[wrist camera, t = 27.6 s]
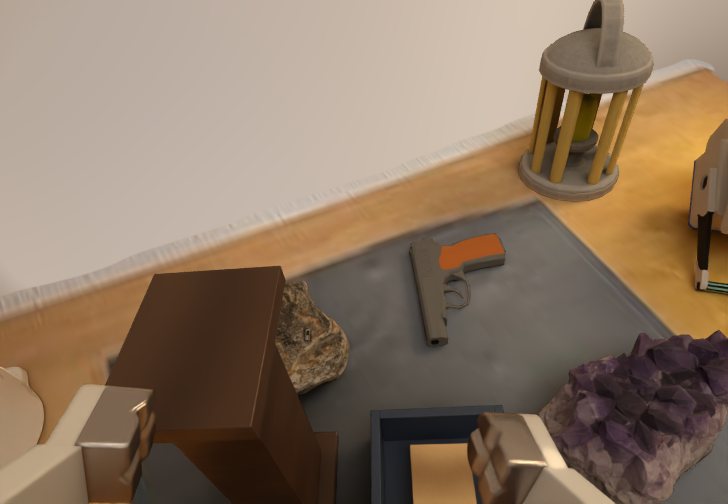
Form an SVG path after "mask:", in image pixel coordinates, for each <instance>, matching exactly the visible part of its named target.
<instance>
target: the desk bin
mask: <svg viewBox="0 0 728 504" xmlns="http://www.w3.org/2000/svg"><path fill="white" fill-rule="evenodd" d="M482 412H500V413H504V410H503V406H502V405H494V406H493V405H491V406H467V407H443V408H419V409H395V410H380V411H379V410H372V411H371V504H413V491H412V473H411V455H410V445H426V444H463V443H468V440H469V437H470V435H471V433H472V432H474V431H475V430H476V429H478V428H479V427H478V424H477V422H476V421H477V419H478V417H479V415H480V414H481V413H482ZM472 475H473V482H474V488H475V495H476V502H477V504H482V501H481V499H480V496H479V493H478V490H477V484H478V481H479V478H478V477H477V476H476V475H475V474H474V473H473V472H472Z"/></svg>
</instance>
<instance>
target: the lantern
mask: <svg viewBox="0 0 728 504" xmlns="http://www.w3.org/2000/svg"><path fill="white" fill-rule="evenodd" d="M623 24H624V5H623V1H622V0H595V1H594V2H593V5H592V7H591V9H590V11H589V13H588V16H587V20H586V22H585V26H584V29H583V30H580V31H576V32H573V33H570V34H568V35H566V36H564V37H561V38H559V39H558V40H556V41H555V42H554V43H553V44H551V45H550V46H549V47H547V48H546V49H545V51H544V52H543V54H542V58H541V63H540V68H539V71H540V73H541V75H542V81H541V87H540V92H539V98H538V103H537V109H536V114H535V120H534V126H533V131H532V137H531V142H530V148H529V149H528V150H527V151H526V152H525V153H524V154H523V155H522V156H521V161H520V167H519V174H520V176H521V179H522V181H523V182H524V183H525V184H526V185H527V186H528V187H529V188H531V189H532V190H534V191H536V192H537V193H539V194H541V195H544V196H547V197H550V198H553V199H557V200H565V201H587V200H592V199H595V198H598V197H602V196H603V195H605V194H606V193H608V192H609V191H611V190H612V189H613V187H614V185H615V184H616V182H617V179H618V176H619V167H618V165H617V163H616V162H617V159H618V157H619V154H620V151H621V148H622V145H623V142H624V139H625V136H626V133H627V131H628V128H629V125H630V122H631V119H632V116H633V113H634V110H635V107H636V105H637V102H638V99H639V96H640V93H641V90H642V87H643V84H644V83H646V81H647V80H648V78H649V77H650V75H651V72H652V69H653V65H654V63H653V56H652V53H651V52H650V51H649V50H648V48H647V47H646V46H645V45H644V44H643V43H642V42H641V41H640V40H639V39H637V38H636V37H634V36H632V35H630V34H628V33H625V32H623ZM565 89H568V90H569V95H568V99H567V103H566V108H565V112H564V117H563V121H562V125H561V127H559V128H557V125H558V120H559V116H560V111H561V107H562V102H563V98H564V93H565ZM631 89H633V92H632V95H631V98H630V101H629V104H628V107H627V110H626V113H625V116H624V119H623V122H622V125H621V128H620V131H619V134H618V137H617V140H616V143H615V146H614V149H613V152H612V155H611V154H609V153H608V151H609V148H610V145H611V142H612V139H613V136H614V133H615V129H616V126H617V123H618V120H619V117H620V114H621V111H622V108H623V105H624V102H625V99H626V96H627V92H628V90H631ZM587 93H589V94H587ZM605 93H614V94H613V97H612V100H611V104H610V107H609V110H608V114H607V117H606V120H605V123H604V127H603V130H602V133H601V137H600V140H599V143H598V146H597V145H595V144H596V143H597V141H598V134H597V133H596V131H594V130H593V129H592V128H593V125H594V121H595V117H596V114H597V110H598V107H599V103H600V100H601V96H602V94H605Z"/></svg>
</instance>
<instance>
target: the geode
mask: <svg viewBox="0 0 728 504" xmlns="http://www.w3.org/2000/svg"><path fill="white" fill-rule="evenodd" d="M569 377H570V379H569V381H568V382H569V384H565V385H564V386H563V387H562V388H561V389H560V390H559V391H558V392H557V394H556V395H555V396H554V397H553V398H552V399H551V401H550V402H549V403H548V405H547V406H545V407H544V408H543V409H542V410H541V412H539V414H538V416H539V417H540V418H541V420H542V422H543V424H544V425H545V427H546V429H547V431H548V433H549V434H550V436H551V438H552V440H553V442H554V444H555V445H556V447H557V449H558V451H559V453H560V454H561V456H562V458H563V460H564V462H565V464H566V465H567V467H568V468H571V469H574V470H576V471H577V472H578V473H579V474H580V475H582V476H583V477H584V478H585V479H586V480H588V481H589V482H590V483H591V484H593V485H594V486H595V487H596V488H597V489H599V490H600V491H601V492H602V493H603V494H605V495H606V496H607V497H608V498H609V499H611V500H612V501H613V502H614V503H616V504H659V503H660V502H662V501H664V500H666V499H667V498H668V497H670V495H671V494H672V492H673V484H674V483H675V482H676V480H677V479H678V478H679V476H680V475H681V474H682V473H684V472H686V471H687V470H688V469H689V468H691V467H692V466H693V465H694V464H696V463H698V462H699V461H701V460H702V459H703V458H705V457H706V456H707V455H708V454H709V453H710V452H711V450H712V447H713V442H714V441H715V439H716V437H717V435H718V432H719V431H721V430H722V428H723V426H724V423H725V419H726V417H727V407H728V339H727V337H726V336H725V335H724V334H723V333H722V332H721V331H720V330H718V331H716V332H714V333H713V334H711V335H710V336H709V337H708V338H706V339H703V338H702V339H695V340H694V339H693V338H692V337H691V336H690V335H679V336H672V337H671V338H669V339H668V340H667V339H655V340H651V339H650V338H649V336H648V335H647V334H645V333H641V334H639V336H638V338H637V340H636V342H635V345H634V347H633V350H632V352H631V354H629V355H628V357H627V356H626V355H625V353H623V354H622V355H621V356H620V357H618V358H614V357H613V356H606V357H603V358H602V359H600V360H597V361H590V362H589V363H588V364H587V365H585V364H582V365H580V366H579V367H577V368H575V369H572V370H570V371H569Z"/></svg>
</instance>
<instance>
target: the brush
mask: <svg viewBox="0 0 728 504" xmlns="http://www.w3.org/2000/svg"><path fill="white" fill-rule="evenodd" d="M467 444H468V443H463V444H426V445H410V455H411V473H412V491H413V504H477V502H476V495H475V488H474V482H473V475H472V471H471V469H470V466H469V462H468V457H467Z"/></svg>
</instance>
